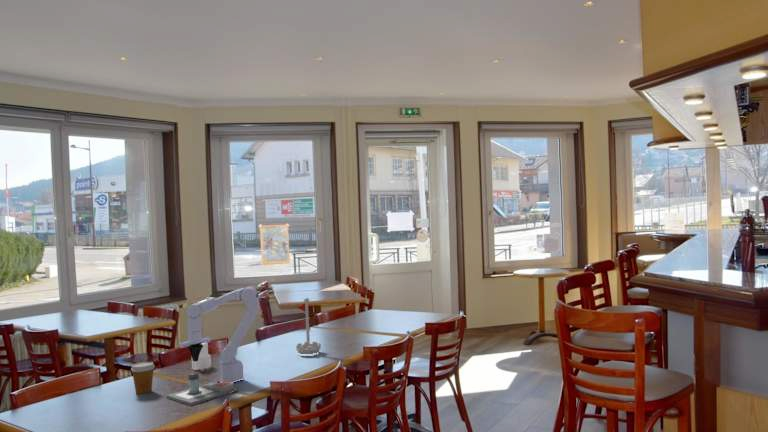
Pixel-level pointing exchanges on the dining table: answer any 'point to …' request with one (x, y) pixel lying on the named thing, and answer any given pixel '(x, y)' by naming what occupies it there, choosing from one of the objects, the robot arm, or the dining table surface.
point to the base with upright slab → (202, 358)
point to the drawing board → (202, 393)
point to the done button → (222, 384)
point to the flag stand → (307, 347)
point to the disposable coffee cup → (143, 377)
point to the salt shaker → (193, 383)
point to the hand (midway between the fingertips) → (195, 360)
